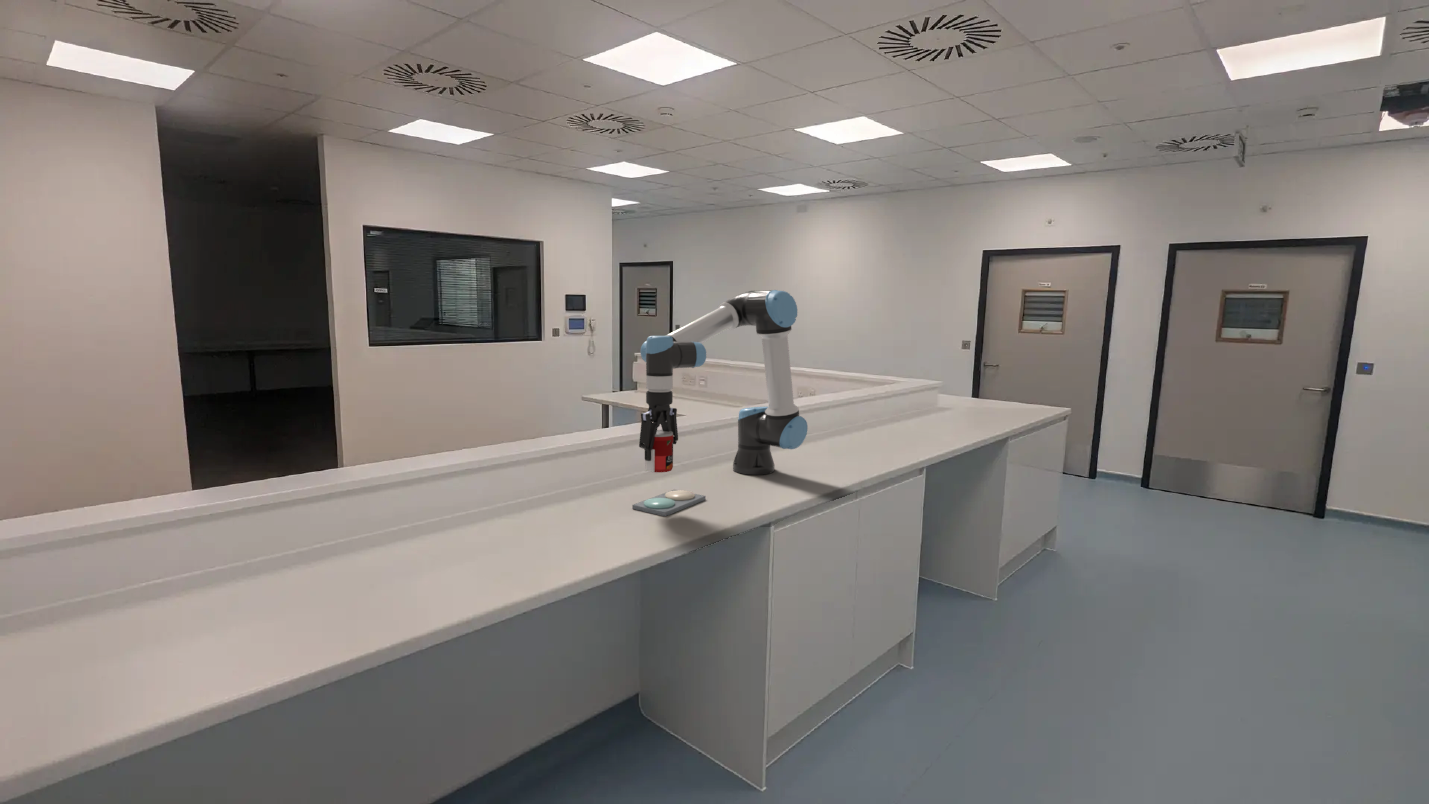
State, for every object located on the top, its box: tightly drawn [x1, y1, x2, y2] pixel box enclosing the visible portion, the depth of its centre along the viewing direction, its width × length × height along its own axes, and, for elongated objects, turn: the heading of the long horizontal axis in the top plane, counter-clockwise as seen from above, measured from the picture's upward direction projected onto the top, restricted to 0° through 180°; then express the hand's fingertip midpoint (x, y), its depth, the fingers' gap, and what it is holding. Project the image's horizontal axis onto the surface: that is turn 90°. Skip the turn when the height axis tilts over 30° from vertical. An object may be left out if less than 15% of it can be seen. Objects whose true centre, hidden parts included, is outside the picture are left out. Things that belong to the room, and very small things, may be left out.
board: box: [631, 489, 707, 517], centre depth 194 cm, size 20×12×2 cm, turn 146°
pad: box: [643, 497, 675, 509], centre depth 189 cm, size 9×9×1 cm
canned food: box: [652, 429, 674, 473], centre depth 187 cm, size 8×8×11 cm
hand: (659, 468), depth 188 cm, fingers closed on canned food, 8 cm apart
